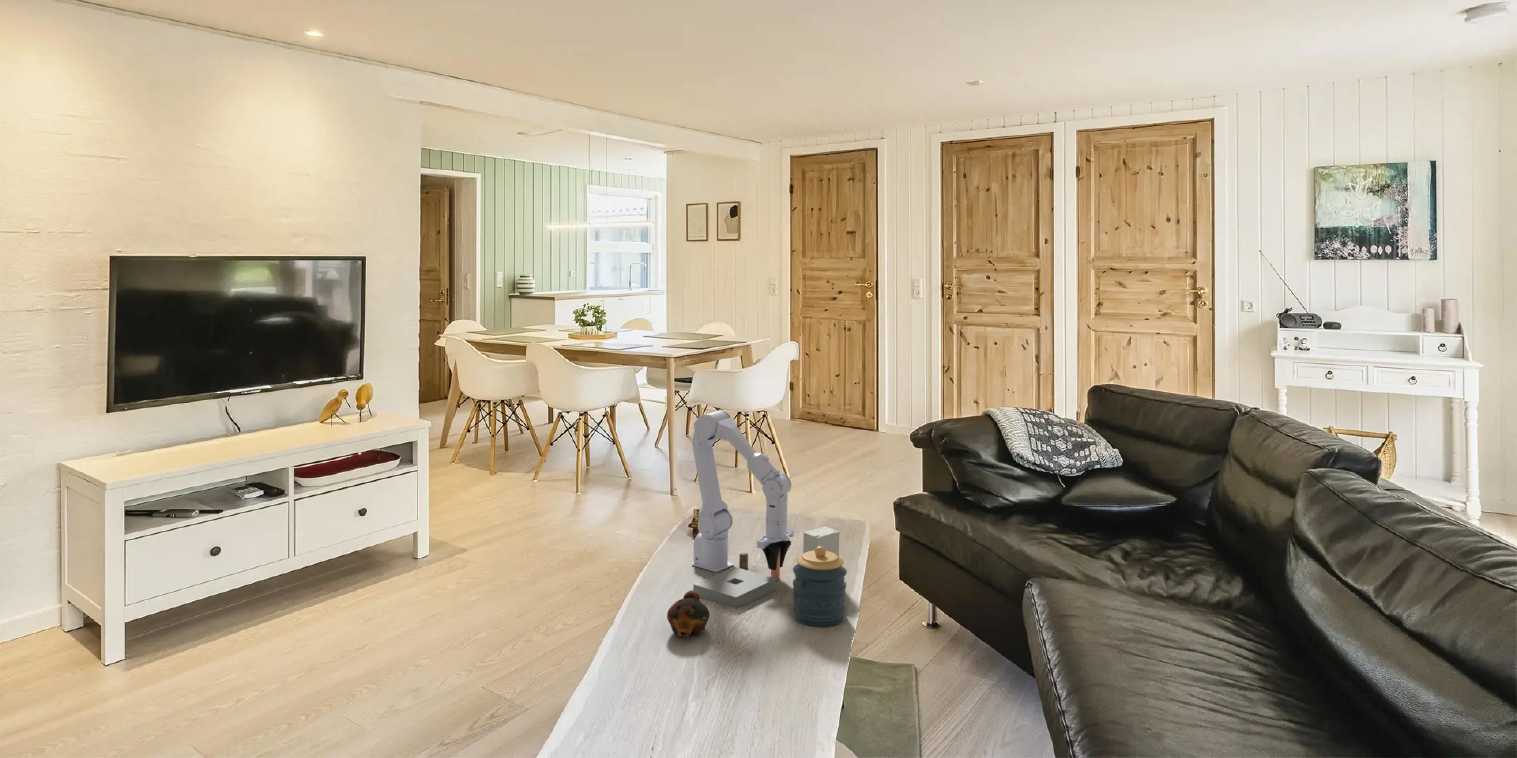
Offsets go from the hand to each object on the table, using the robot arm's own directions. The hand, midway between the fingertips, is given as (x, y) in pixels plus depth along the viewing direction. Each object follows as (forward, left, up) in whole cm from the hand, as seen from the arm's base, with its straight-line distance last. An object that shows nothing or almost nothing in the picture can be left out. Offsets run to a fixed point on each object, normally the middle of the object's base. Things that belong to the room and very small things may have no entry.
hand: (775, 567), depth 230 cm
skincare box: (+12, +4, -3) cm, 13 cm away
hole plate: (-2, -15, -3) cm, 15 cm away
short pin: (-11, 0, -3) cm, 11 cm away
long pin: (0, 0, -3) cm, 3 cm away
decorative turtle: (+5, -41, -3) cm, 41 cm away
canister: (+24, -14, -3) cm, 28 cm away
